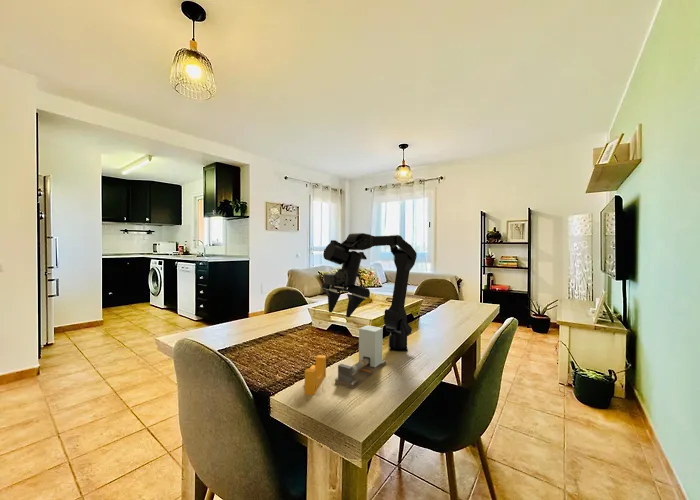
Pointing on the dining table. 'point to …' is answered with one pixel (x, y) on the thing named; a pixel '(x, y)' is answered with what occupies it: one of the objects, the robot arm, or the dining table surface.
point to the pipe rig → (356, 373)
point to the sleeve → (371, 344)
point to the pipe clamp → (315, 375)
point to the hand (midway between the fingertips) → (338, 314)
